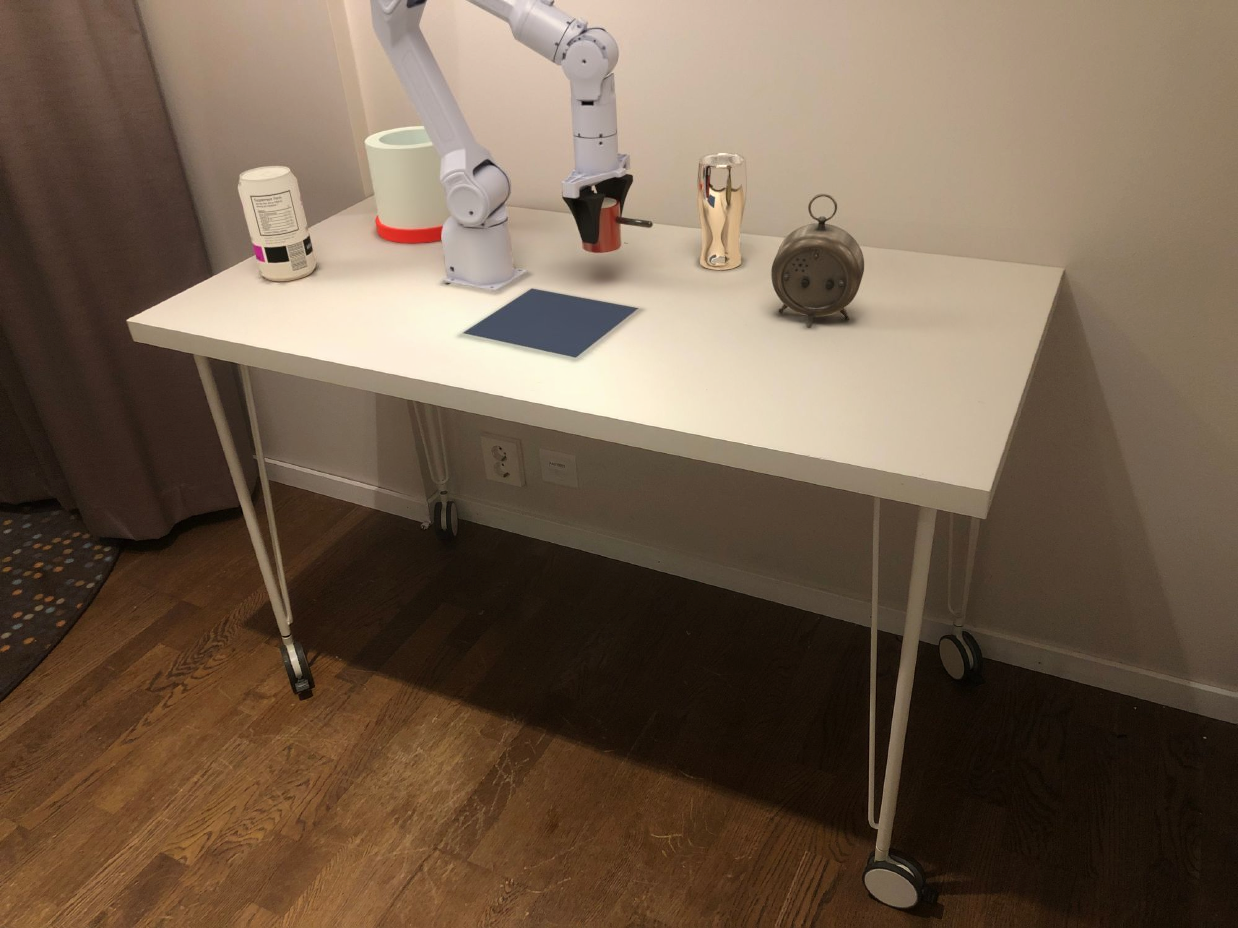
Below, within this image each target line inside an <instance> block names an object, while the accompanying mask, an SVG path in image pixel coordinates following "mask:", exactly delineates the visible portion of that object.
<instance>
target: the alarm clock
mask: <svg viewBox="0 0 1238 928" xmlns="http://www.w3.org/2000/svg"><path fill="white" fill-rule="evenodd" d="M822 197H824V198H825V197H826V198H828V199H830V200H831V201H832V203H833V205H834V210H833V213H832V214H831V215H830V216H829V217H825V216H823V215H821V216H819V217H816V216H815V215H814V214H813V212H812V204H813V203H814V201H815V200H817V199H818V198H822ZM807 209H808V213H809V215H810V217H811V218H812V219H813V220H815V221H817V223H810V224H806V225H803V226H800V227H798V228H796V229H794V230H793V231H792V232H790V233H789V234H788V235H787V236H786V237H785V238H784V239H783V241H782V242H781V244H780V246H779V247H778V250H777V252H776V254H775V256H774V259H773V262H772V264H771V273H770V277H771V284H772V287H773V290H774V292H775V294H776V296H777V297H778V299H779V300H780V302H782V306H781V308H778V310H777V311H778V314H782V313H784V311H785V310H787V308H788V309H790V310H791V311H793V312H795V313H797V314H800V315H803V316H806V326H807V327H808V328H811V327H812V326H813V321H814V318H820V317H828V316H831V315H834V314H836V313H838V312H839V313H840V314H841V315H842V316H843V317H844V320H845V321H847V322H848V321H850V319H851V317H850V316H849V315H848V313H847V310H846V308H847V306H849V305H850V304H851V303H852V301H853V300H854V299H855V297H856V296H857V293H858V292H859V289H860V286H861V282H862V279H863V277H864V272H865V258H864V254H863V251H862V248H861V246H860V245H859V243H858V242H857V240H856V239H855V238H854V236H852V235H851V234H850V233H849V232H847V231H846V230H844V229H843V228H841V227H838V226H836V225H834V224H830V223H826V222H828V221H829V220H831V219H832V218H833V217H834V216H835V215H836V214H837V211H838V203H837V201H836V199H835V198H834V197H833V196H832V195H830V194H828V193H819V194H816V195H814V196H813V197H812V198H811V199H810V201H809V202H808V206H807Z"/></svg>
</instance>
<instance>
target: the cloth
mask: <svg viewBox="0 0 1238 928" xmlns="http://www.w3.org/2000/svg"><path fill="white" fill-rule="evenodd" d="M638 309H639V307H635V306H629V305H623V304H618V303H614V302H613V303H612V302H607V301H602V300H597V299H591V298H586V297H580V296H575V295H569V294H564V293H558V292H553V291H548V290H542V289H536V288H530V289H528V290H527V291H525V292H524V293H522V294H521V295H519V296H518V297H516V298H514V299H513V300H512V301H510V302H508V303H507V304H505V305H504V306H502V307H501V308H499V309H497V310H496V311H494V312H493V313H491V314H489V315H488V316H487V317H485V318H483V319H481V321H479V322H477V323H476V324H474V325H472V326H471V327H470V328H468V329H467V330H465V331H463V332H462V334H464V335H470V336H473V337H477V338H478V337H479V338H483V339H487V340H488V339H489V340H493V341H497V342H503V343H507V344H512V345H516V346H520V347H525V348H529V349H534V350H537V351H542V352H548V353H553V354H557V355H562V356H565V357H566V356H567V357H571V358H575V359H576V358H578V357H579V356H580V355H581V354H583V353H584V352H585V351H586V350H588V349H589V348H590V347H591V346H593V345H594V344H595V343H597V342H598V341H599V340H601V339H602V338H603V337H604V336H605V335H607V334H608V333H609V332H611V331H612V330H613V329H614V328H616V327H617V326H618V325H619V324H620V323H622V322H623V321H624V320H626V319H627V318H628V317H630V316H631V315H632V314H634V313H635V312H636V311H637V310H638Z"/></svg>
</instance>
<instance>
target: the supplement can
mask: <svg viewBox="0 0 1238 928" xmlns="http://www.w3.org/2000/svg"><path fill="white" fill-rule="evenodd" d="M237 191H238V195H239V199H240V202H241V206H242V211H243V215H244V218H245V222H246V225H247V229H248V233H249V237H250V240H251V244H252V247H253V252H254V255H255V259H256V262H257V267H258V270H259V274H260V275H261V276H262V277H264V278H265V279H266V280H268V281H271V282H291V281H295V280H300V279H303V278H305V277H307V276H309V275H311V274H312V273H313V272H314V269H315V268H316V267H317V262H316V256H315V251H314V247H313V244H312V240H311V234H310V231H309V226H308V222H307V218H306V213H305V209H304V204H303V201H302V196H301V191H300V188H299V182H298V178H297V177H296V176H295V175H294V174H293V172H292V171H291V168H289V167H288V166H282V165H268V166H261V167H256V168H251V169H247V170H245V171H243V172H241V173H240V174H239V180H238V184H237Z"/></svg>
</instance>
